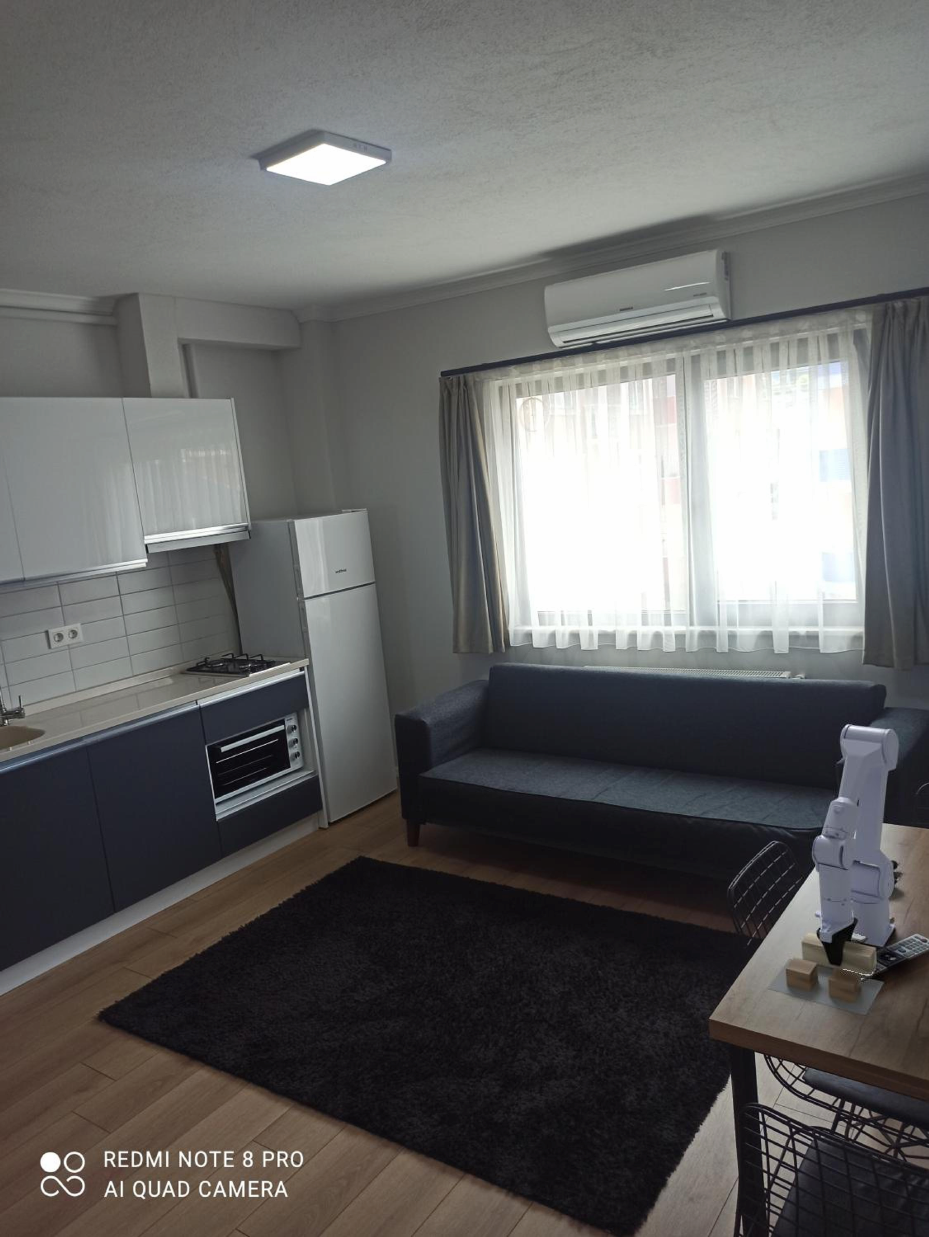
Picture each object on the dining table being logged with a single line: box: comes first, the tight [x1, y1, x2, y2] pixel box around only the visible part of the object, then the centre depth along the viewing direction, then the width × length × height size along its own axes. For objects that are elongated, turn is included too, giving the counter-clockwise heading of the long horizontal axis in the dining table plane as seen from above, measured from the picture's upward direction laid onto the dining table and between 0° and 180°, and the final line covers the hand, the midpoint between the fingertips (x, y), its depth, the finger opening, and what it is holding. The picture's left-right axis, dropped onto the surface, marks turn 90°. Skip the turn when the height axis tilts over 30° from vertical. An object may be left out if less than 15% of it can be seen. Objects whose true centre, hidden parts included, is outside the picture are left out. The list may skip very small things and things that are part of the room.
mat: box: [767, 958, 885, 1016], centre depth 176 cm, size 12×18×1 cm, turn 51°
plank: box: [801, 932, 878, 975], centre depth 182 cm, size 4×13×4 cm, turn 51°
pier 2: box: [828, 968, 862, 1003], centre depth 172 cm, size 4×4×4 cm
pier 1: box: [786, 957, 818, 991], centre depth 177 cm, size 4×4×4 cm
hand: (839, 958), depth 182 cm, fingers closed on plank, 4 cm apart
